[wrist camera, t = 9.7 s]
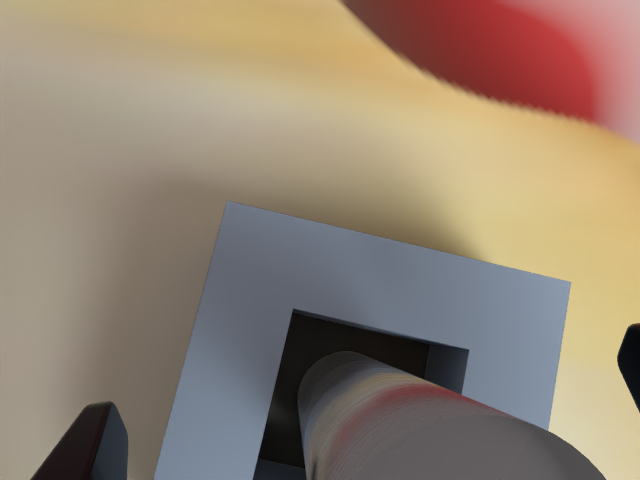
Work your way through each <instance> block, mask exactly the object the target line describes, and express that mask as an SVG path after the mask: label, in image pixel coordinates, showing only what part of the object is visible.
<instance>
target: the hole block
mask: <svg viewBox="0 0 640 480" xmlns="http://www.w3.org/2000/svg"><path fill="white" fill-rule="evenodd" d="M570 286H571V282H568V281H564V280H560V279H556V278H551V277H547V276H543V275H539V274H535V273H530V272H526V271H522V270H518V269H514V268H509V267H505V266H501V265H497V264H492V263H488V262H484V261H480V260H476V259H471V258H467V257H463V256H459V255H454V254H450V253H446V252H442V251H438V250H433V249H429V248H425V247H421V246H417V245H412V244H408V243H404V242H400V241H395V240H391V239H387V238H383V237H379V236H374V235H370V234H366V233H362V232H357V231H353V230H349V229H345V228H341V227H336V226H332V225H328V224H324V223H320V222H315V221H311V220H307V219H303V218H298V217H294V216H290V215H286V214H282V213H277V212H273V211H269V210H265V209H260V208H256V207H252V206H248V205H244V204H239V203H235V202H231V201H227V203H226V206H225V210H224V214H223V218H222V221H221V225H220V229H219V233H218V237H217V240H216V244H215V248H214V252H213V255H212V259H211V263H210V267H209V270H208V274H207V278H206V282H205V286H204V289H203V293H202V297H201V301H200V304H199V308H198V312H197V316H196V320H195V323H194V327H193V331H192V335H191V338H190V342H189V346H188V350H187V353H186V357H185V361H184V365H183V369H182V372H181V376H180V380H179V384H178V387H177V391H176V395H175V399H174V403H173V406H172V410H171V414H170V418H169V421H168V425H167V429H166V433H165V436H164V440H163V444H162V448H161V452H160V455H159V459H158V463H157V467H156V470H155V474H154V478H153V480H307V477H306V469H303V468H299V467H294V466H290V465H285V464H281V463H277V462H272V461H268V460H264V459H259V458H258V456H259V451H260V447H261V443H262V439H263V434H264V430H265V426H266V422H267V418H268V413H269V409H270V405H271V401H272V396H273V392H274V388H275V384H276V380H277V375H278V371H279V367H280V363H281V358H282V354H283V350H284V346H285V342H286V337H287V333H288V329H289V325H290V320H291V316H292V313H296V314H300V315H304V316H308V317H313V318H317V319H321V320H325V321H330V322H334V323H338V324H342V325H347V326H351V327H355V328H360V329H364V330H368V331H372V332H377V333H381V334H385V335H389V336H394V337H398V338H402V339H407V340H411V341H415V342H419V343H424V344H428V345H430V348H429V353H428V358H427V363H426V368H425V374H424V380H426V381H429V382H431V383H434V384H436V385H439V386H441V387H443V388H446V389H448V390H451V391H453V392H456V393H458V394H461V395H463V396H465V397H468V398H470V399H473V400H475V401H478V402H480V403H482V404H485V405H487V406H490V407H492V408H495V409H497V410H500V411H502V412H504V413H507V414H509V415H512V416H514V417H517V418H519V419H522V420H524V421H526V422H529V423H531V424H534V425H536V426H538V427H540V428H543V429H545V430H547V431H548V428H549V421H550V415H551V408H552V402H553V395H554V389H555V383H556V376H557V370H558V363H559V357H560V350H561V344H562V338H563V331H564V325H565V318H566V312H567V306H568V299H569V293H570Z"/></svg>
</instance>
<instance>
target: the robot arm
mask: <svg viewBox="0 0 640 480" xmlns="http://www.w3.org/2000/svg"><path fill="white" fill-rule="evenodd" d="M617 361H618V366H619V369H620V371H621V374H622V376H623V378H624V380H625V382H626V384H627V386H628V389H629V391H630V393H631V395H632V397H633V399H634V401H635V404H636V406H637V408H638V410H639V412H640V323H636V324H632V325H630V326H629V327H628V329H627V331H626V333H625V336H624V339H623V341H622V344H621V347H620V349H619V352H618V356H617ZM127 460H128V435H127V431H126V428H125V426H124V424H123V421H122V419H121V417H120V414H119V412H118V410H117V408H116V406H115V404H114V403H113V402H111V401H107V402H100V403H93V404H89V405H87V406H86V407H85V408H84V409H83V410H82V412H81V413H80V414H79V416H78V417H77V418H76V420H75V421H74V422H73V424H72V425H71V426H70V428H69V429H68V430H67V432H66V433H65V434H64V436H63V437H62V438H61V440H60V441H59V442H58V444H57V445H56V446H55V448H54V449H53V450H52V452H51V453H50V454H49V456H48V457H47V458H46V460H45V461H44V462H43V464H42V465H41V466H40V468H39V469H38V470H37V472H36V473H35V474H34V476H33V477H32V478H31V480H127Z"/></svg>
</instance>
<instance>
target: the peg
mask: <svg viewBox="0 0 640 480" xmlns="http://www.w3.org/2000/svg"><path fill="white" fill-rule="evenodd" d="M298 412H299V420H300V428H301V436H302V444H303V452H304V460H305V469H306V477H307V480H606V479H605V477H604V476H603V475H602V473H601V472H600V471H599V470H598V469H597V468H596V467H595V466H594V465H593V464H592V463H591V462H590V461H589V459H587V458H586V457H585V456H584V455H583V454H582V453H580V452H579V451H578V450H577V449H576V448H574V447H573V446H572V445H570V444H569V443H567V442H566V441H564V440H563V439H561V438H560V437H558V436H557V435H555V434H553V433H551V432H549V431H547V430H545V429H543V428H540V427H538V426H536V425H534V424H531V423H529V422H526V421H524V420H522V419H519V418H517V417H514V416H512V415H509V414H507V413H504V412H502V411H500V410H497V409H495V408H492V407H490V406H487V405H485V404H482V403H480V402H478V401H475V400H473V399H470V398H468V397H465V396H463V395H461V394H458V393H456V392H453V391H451V390H448V389H446V388H443V387H441V386H439V385H436V384H434V383H431V382H429V381H426V380H424V379H421V378H419V377H417V376H414V375H412V374H409V373H407V372H404V371H402V370H399V369H397V368H395V367H392V366H390V365H387V364H385V363H382V362H380V361H377V360H375V359H373V358H370V357H368V356H365V355H363V354H360V353H356V352H351V351H341V352H335V353H331V354H329V355H326V356H324V357H322V358H321V359H319V360H318V361H316V362H315V363H314V364H313V365H312V366H311V367H310V368H309V369H308V371H307V372H306V374H305V375H304V377H303V379H302V381H301V384H300V387H299V391H298Z"/></svg>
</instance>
